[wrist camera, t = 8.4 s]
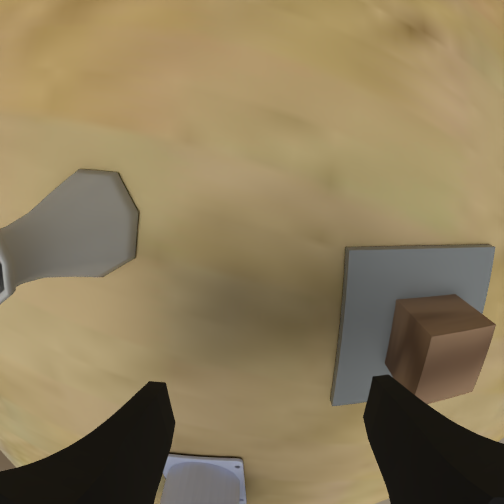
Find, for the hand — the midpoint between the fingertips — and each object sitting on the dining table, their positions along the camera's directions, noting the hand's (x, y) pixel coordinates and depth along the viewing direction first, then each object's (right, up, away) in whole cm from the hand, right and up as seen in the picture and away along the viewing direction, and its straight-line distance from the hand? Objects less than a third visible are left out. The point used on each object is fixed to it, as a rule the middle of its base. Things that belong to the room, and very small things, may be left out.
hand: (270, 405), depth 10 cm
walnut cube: (+11, 0, +9) cm, 15 cm away
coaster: (+11, 0, +10) cm, 15 cm away
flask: (-11, +7, +9) cm, 16 cm away
